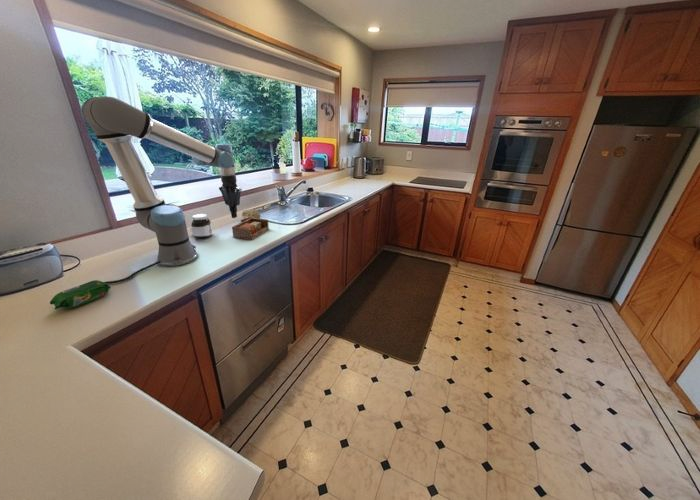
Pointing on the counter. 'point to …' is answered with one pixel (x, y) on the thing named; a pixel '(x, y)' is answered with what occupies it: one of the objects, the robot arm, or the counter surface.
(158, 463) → the counter surface
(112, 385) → the counter surface
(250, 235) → the wooden box
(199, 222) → the spread jar
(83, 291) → the snack package
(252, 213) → the sponge
